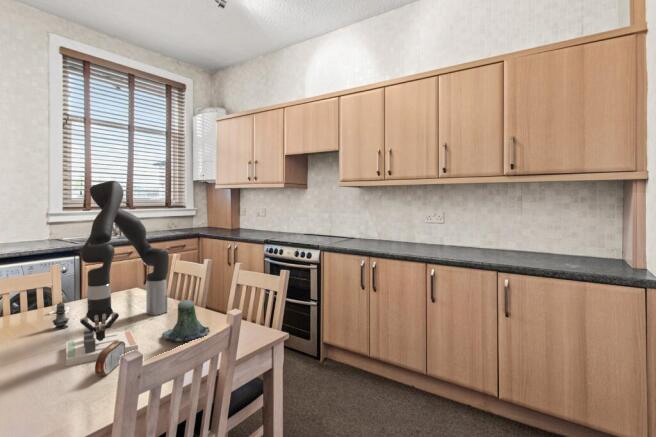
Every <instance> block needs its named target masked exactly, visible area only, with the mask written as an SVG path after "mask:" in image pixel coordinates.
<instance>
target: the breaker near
mask: <svg viewBox="0 0 656 437" xmlns="http://www.w3.org/2000/svg"><path fill="white" fill-rule="evenodd" d="M93 351H95V338H93V339H88V340H85V353H88V352H93Z"/></svg>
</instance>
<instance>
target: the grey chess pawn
mask: <svg viewBox="0 0 656 437" xmlns="http://www.w3.org/2000/svg"><path fill="white" fill-rule="evenodd" d="M56 305H57V311H56V312H55V314H56V315H55V316H56V317H55V319H52V323H53V325H54V326H55V327H53V328H52V330H55V331H60V330H65V329H67V328H69V326H68V325H67V324H68V322H69V320H70V318H69V317H67V316H66V313H65V312H66V311H65V307H66V305H65V303H64V302H62V301H60V302H59V303H57V304H56Z"/></svg>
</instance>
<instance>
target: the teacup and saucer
mask: <svg viewBox="0 0 656 437" xmlns="http://www.w3.org/2000/svg"><path fill="white" fill-rule="evenodd" d="M56 311H57V304H56V305H54V307H53V308H52V311H50V312H49V313H48V315H50V316H56ZM69 311H70V307H69V306H65V314H66V313H69Z"/></svg>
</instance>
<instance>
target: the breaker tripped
mask: <svg viewBox="0 0 656 437" xmlns="http://www.w3.org/2000/svg"><path fill="white" fill-rule="evenodd" d="M94 337H95V335H94V332H93V333H91V334H85V335H84V334H83V339H84V347H85V340H88V339H93V338H94Z"/></svg>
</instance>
